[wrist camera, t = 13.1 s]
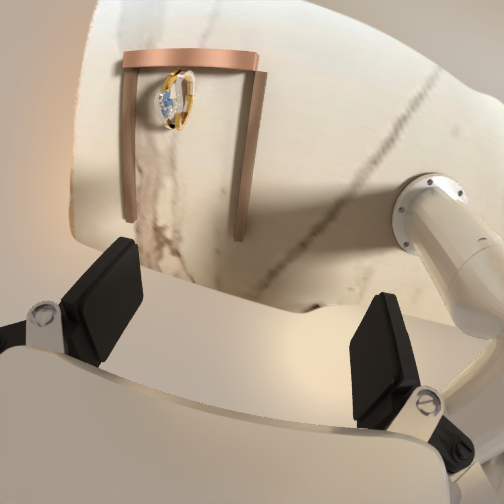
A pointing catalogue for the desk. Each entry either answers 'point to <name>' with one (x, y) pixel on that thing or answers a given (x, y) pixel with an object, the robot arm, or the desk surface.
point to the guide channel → (189, 59)
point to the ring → (168, 103)
